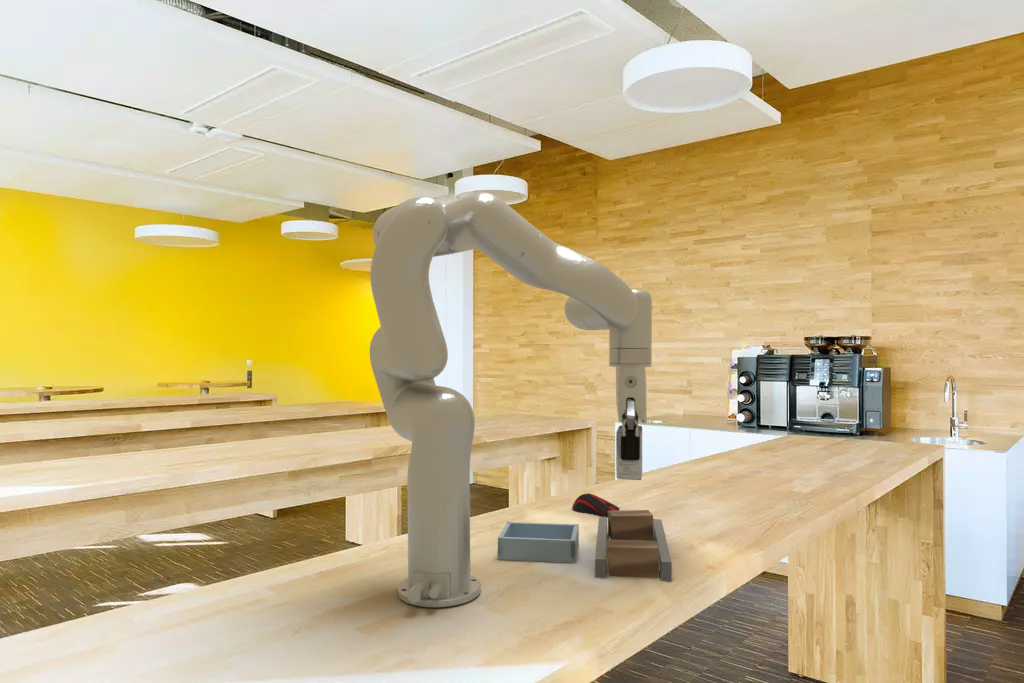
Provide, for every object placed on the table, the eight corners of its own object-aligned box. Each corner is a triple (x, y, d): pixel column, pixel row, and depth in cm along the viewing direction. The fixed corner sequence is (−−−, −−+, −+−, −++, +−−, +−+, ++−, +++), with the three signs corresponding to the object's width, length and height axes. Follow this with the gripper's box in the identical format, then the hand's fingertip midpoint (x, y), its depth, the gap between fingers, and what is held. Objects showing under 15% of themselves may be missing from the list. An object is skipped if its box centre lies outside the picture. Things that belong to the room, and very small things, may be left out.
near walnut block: (658, 578, 111) (658, 548, 111) (608, 577, 112) (608, 546, 112) (656, 570, 115) (655, 540, 115) (607, 569, 116) (607, 539, 116)
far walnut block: (653, 541, 132) (653, 515, 132) (611, 542, 131) (611, 515, 131) (648, 535, 136) (648, 510, 136) (608, 536, 135) (607, 510, 135)
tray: (575, 562, 119) (575, 541, 119) (497, 559, 121) (497, 537, 121) (578, 544, 129) (578, 524, 129) (507, 541, 131) (507, 521, 131)
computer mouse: (607, 519, 148) (607, 501, 148) (567, 511, 155) (566, 493, 155) (623, 514, 152) (623, 496, 152) (583, 506, 160) (583, 489, 160)
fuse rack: (671, 581, 110) (671, 562, 110) (595, 577, 112) (594, 559, 112) (661, 534, 136) (661, 519, 136) (599, 532, 137) (599, 517, 137)
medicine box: (641, 480, 119) (642, 430, 119) (615, 479, 120) (616, 429, 120) (642, 472, 127) (642, 425, 127) (617, 471, 128) (618, 424, 128)
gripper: (654, 360, 114) (653, 465, 114) (649, 357, 131) (648, 448, 131) (608, 359, 115) (608, 463, 115) (609, 357, 132) (609, 447, 132)
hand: (629, 455), depth 123 cm, fingers closed on medicine box, 8 cm apart
